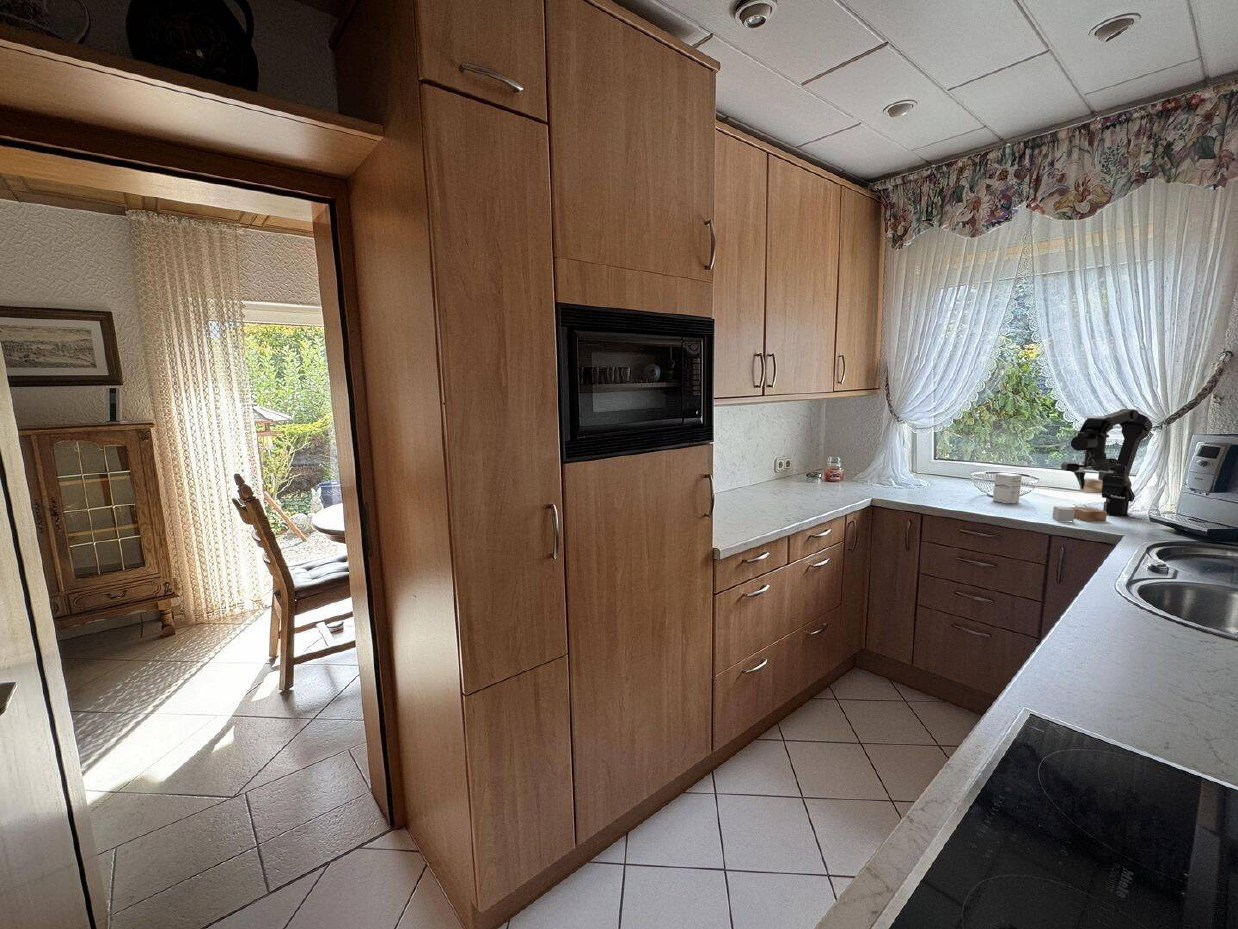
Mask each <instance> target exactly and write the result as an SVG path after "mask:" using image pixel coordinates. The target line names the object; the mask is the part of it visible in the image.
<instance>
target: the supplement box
mask: <svg viewBox="0 0 1238 929" xmlns="http://www.w3.org/2000/svg"><path fill="white" fill-rule="evenodd" d="M994 475H995V476H994V486H993V494H992V495H993V496H992V502H999V503H1002V504H1007V503H1013V504H1018V503H1019V502H1020V494H1021V486H1022V478H1023V477H1022V476H1023V475H1022V474H1017V473H1010V472H999V473H998V472H996V473H995V474H994Z"/></svg>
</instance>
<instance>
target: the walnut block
mask: <svg viewBox="0 0 1238 929" xmlns="http://www.w3.org/2000/svg"><path fill="white" fill-rule="evenodd" d="M1069 507H1070V508H1072V509H1074V510H1075V512H1074V519H1076V518H1077V519H1076V520H1079V519H1080V520H1079V521H1082V522H1107V515H1108V514H1107V512H1105V511H1103V509H1098V508H1096V507H1091V506H1089V507H1088V506H1082V507H1081V506H1069Z"/></svg>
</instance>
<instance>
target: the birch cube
mask: <svg viewBox="0 0 1238 929" xmlns="http://www.w3.org/2000/svg"><path fill="white" fill-rule="evenodd" d="M1102 483H1103V481H1102V480H1099V479H1098V478H1089V477H1084V488H1083V489H1081V488H1080V487H1079V492H1082V493H1084V494H1099V495H1102V493H1101V491H1102Z"/></svg>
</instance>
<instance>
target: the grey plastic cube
mask: <svg viewBox="0 0 1238 929" xmlns="http://www.w3.org/2000/svg"><path fill="white" fill-rule="evenodd" d="M1070 507H1071V506H1059V505H1057V506H1056V505H1054V506H1053V510H1052V517H1051V518H1053V519H1052V520H1054V521H1055V522H1058V521H1072V522H1071V523H1074V521H1075V520H1074V519H1075V518H1074V512H1075V510H1074V509H1072V508H1070Z"/></svg>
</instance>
